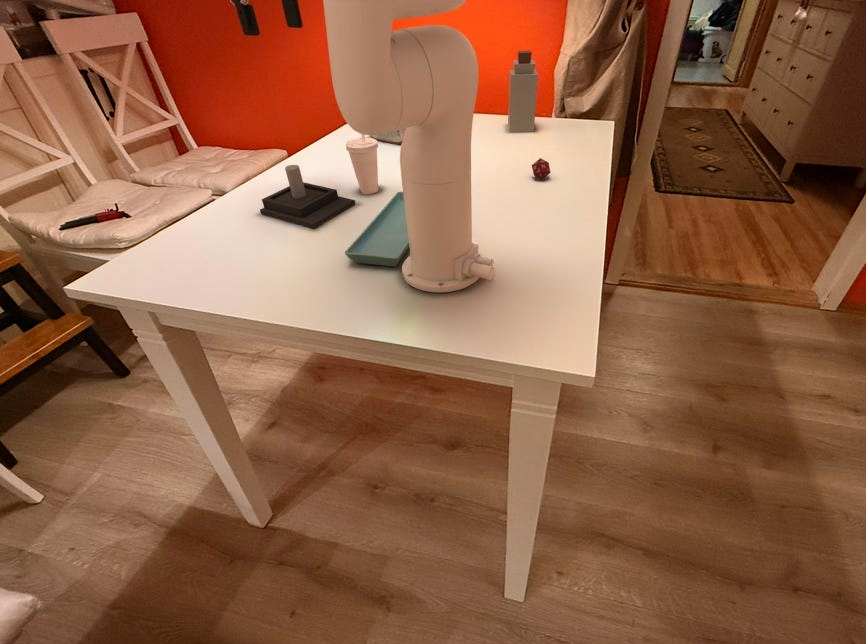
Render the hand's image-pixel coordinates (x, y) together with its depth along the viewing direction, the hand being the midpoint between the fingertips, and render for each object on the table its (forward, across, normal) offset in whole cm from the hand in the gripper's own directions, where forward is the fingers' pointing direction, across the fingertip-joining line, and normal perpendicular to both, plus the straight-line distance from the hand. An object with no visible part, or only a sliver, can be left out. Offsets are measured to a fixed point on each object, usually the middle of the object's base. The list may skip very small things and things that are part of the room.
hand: (274, 31), depth 78 cm
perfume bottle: (+28, +61, -20) cm, 70 cm away
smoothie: (+28, +7, -9) cm, 31 cm away
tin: (+28, +36, +7) cm, 46 cm away
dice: (+28, +29, -39) cm, 56 cm away
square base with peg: (+27, -6, -2) cm, 28 cm away
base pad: (+28, -6, -4) cm, 29 cm away
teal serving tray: (+28, -6, -26) cm, 39 cm away
